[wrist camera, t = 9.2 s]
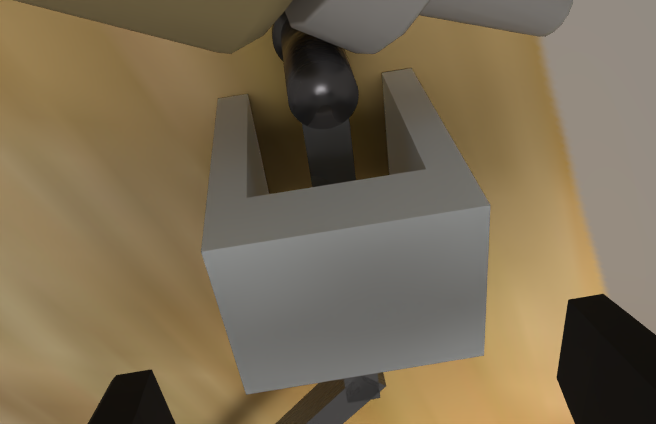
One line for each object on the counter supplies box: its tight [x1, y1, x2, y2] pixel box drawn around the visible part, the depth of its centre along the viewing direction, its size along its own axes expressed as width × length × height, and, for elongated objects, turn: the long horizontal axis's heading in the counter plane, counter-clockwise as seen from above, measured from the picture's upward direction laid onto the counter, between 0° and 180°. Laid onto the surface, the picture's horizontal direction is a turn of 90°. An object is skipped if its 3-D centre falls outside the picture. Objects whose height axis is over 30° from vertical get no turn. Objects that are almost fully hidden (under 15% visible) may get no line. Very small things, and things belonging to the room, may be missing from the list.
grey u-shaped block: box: [201, 68, 490, 395], centre depth 15 cm, size 4×5×6 cm
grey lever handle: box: [272, 11, 386, 424], centre depth 19 cm, size 20×6×4 cm, turn 159°
